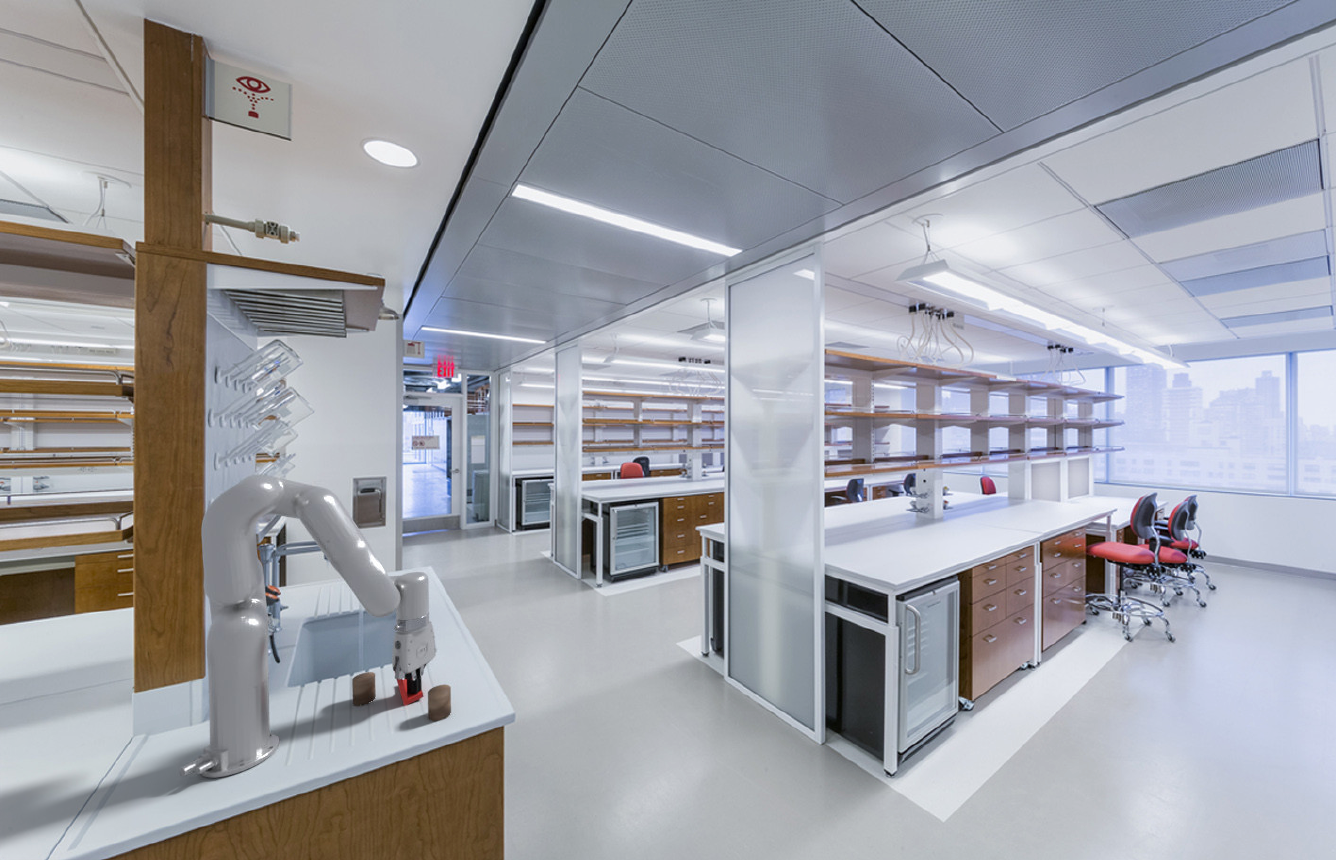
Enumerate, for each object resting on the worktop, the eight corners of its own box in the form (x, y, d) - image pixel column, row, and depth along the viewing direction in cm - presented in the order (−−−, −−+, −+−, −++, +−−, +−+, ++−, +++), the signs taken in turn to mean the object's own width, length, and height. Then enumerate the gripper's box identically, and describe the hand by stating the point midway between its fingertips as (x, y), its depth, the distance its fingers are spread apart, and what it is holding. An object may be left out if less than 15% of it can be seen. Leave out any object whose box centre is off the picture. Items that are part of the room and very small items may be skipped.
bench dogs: (440, 722, 113) (439, 697, 113) (347, 704, 121) (347, 680, 121) (455, 710, 117) (455, 686, 117) (365, 693, 126) (365, 671, 126)
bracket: (423, 696, 123) (415, 668, 122) (404, 706, 120) (395, 677, 119) (417, 677, 132) (410, 651, 131) (399, 685, 130) (391, 659, 129)
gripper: (400, 635, 115) (401, 711, 115) (446, 612, 130) (447, 680, 129) (376, 632, 117) (377, 706, 117) (423, 610, 132) (425, 676, 132)
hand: (414, 692), depth 123 cm, fingers closed
